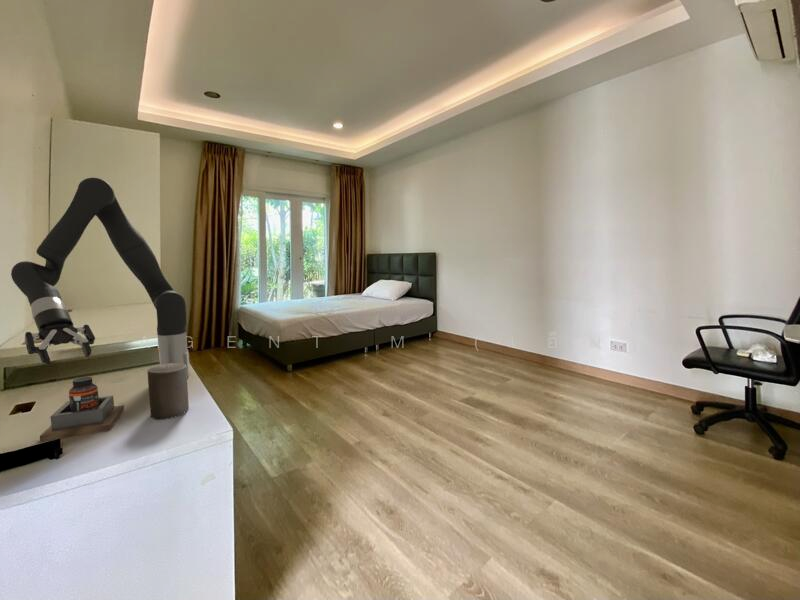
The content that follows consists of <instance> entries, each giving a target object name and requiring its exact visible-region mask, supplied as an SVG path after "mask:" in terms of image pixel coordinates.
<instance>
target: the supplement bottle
mask: <svg viewBox="0 0 800 600" xmlns="http://www.w3.org/2000/svg"><path fill="white" fill-rule="evenodd" d="M93 381H94V380H93V377H92V376H83V377H78V378H75V379H73V380H72V387H71V388H70V389H69V390H68V398H69V399H68V400H69V401H70V409H71V412H74V411H81V410H88V409H95V408H98V407H99V389H98V386H97V384H96V383H93Z"/></svg>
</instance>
